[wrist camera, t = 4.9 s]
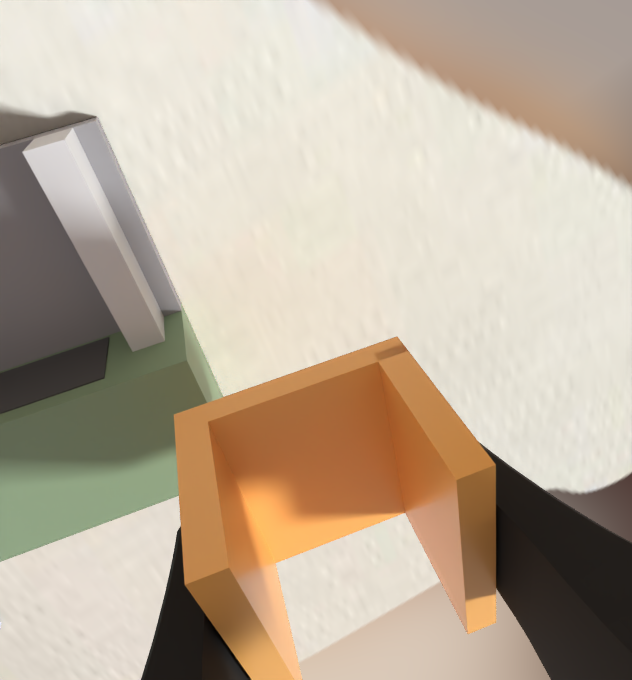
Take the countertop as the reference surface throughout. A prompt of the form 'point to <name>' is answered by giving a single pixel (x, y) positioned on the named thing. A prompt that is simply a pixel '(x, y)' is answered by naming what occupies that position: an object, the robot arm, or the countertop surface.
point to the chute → (328, 491)
